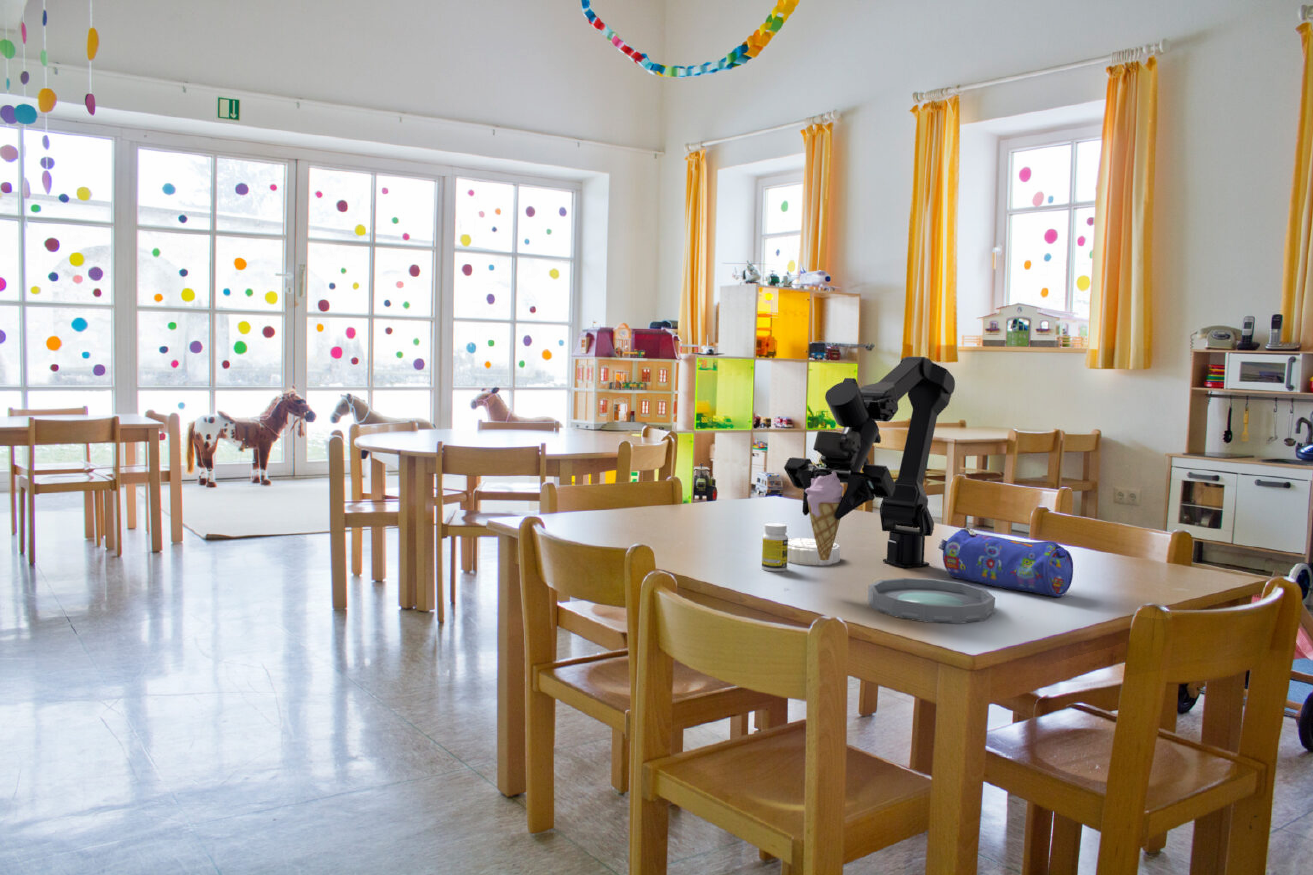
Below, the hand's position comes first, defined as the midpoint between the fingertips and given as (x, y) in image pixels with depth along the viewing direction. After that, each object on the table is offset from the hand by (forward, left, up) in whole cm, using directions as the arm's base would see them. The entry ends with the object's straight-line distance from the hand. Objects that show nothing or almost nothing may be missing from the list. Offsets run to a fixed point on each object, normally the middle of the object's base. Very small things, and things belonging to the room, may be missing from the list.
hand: (820, 515), depth 160 cm
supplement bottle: (-4, -20, -13) cm, 24 cm away
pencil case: (-35, +7, -14) cm, 38 cm away
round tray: (-12, +13, -13) cm, 22 cm away
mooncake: (-16, -26, -14) cm, 33 cm away
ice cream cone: (-1, -1, -8) cm, 8 cm away
